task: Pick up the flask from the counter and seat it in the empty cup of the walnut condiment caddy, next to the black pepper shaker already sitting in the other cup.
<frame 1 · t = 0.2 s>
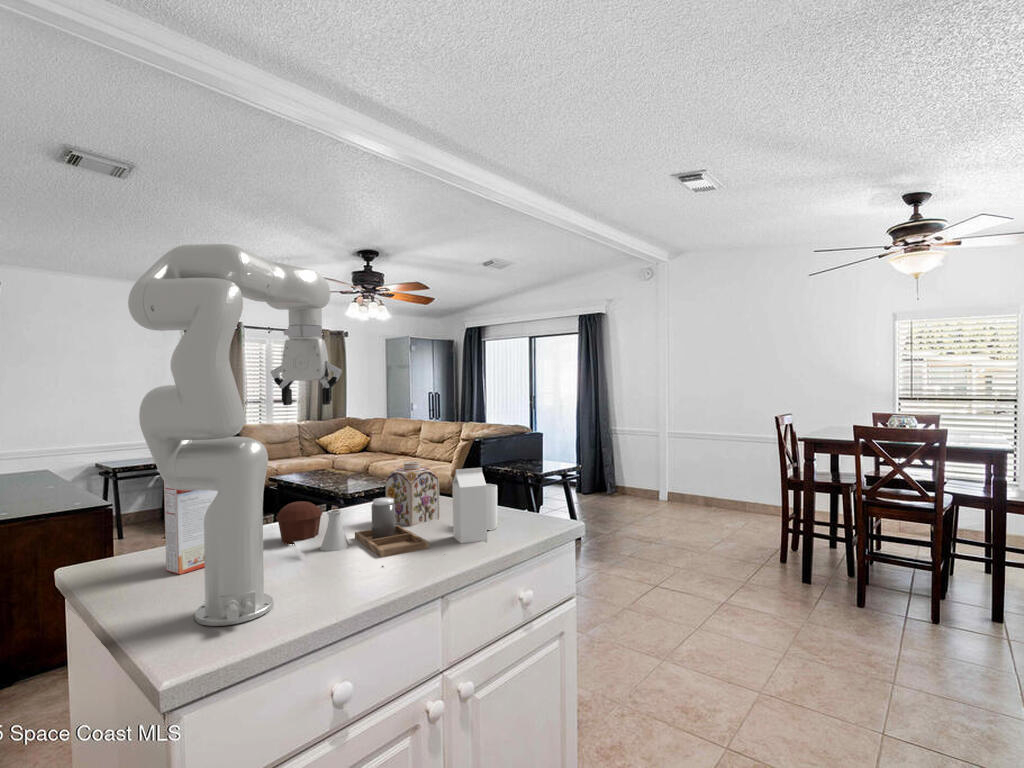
hand: (307, 404, 131), 36 cm above the counter, tool pointing down, fingers open, 9 cm apart
mug: (482, 527, 155), on the counter
flask: (334, 552, 134), on the counter
decorative jar: (413, 523, 162), on the counter
milk carton: (470, 542, 140), on the counter
caddy: (390, 547, 137), on the counter
pepper shaker: (383, 538, 141), point 1 cm above the counter, touching caddy
muffin: (299, 540, 145), on the counter
cracker box: (202, 565, 126), on the counter
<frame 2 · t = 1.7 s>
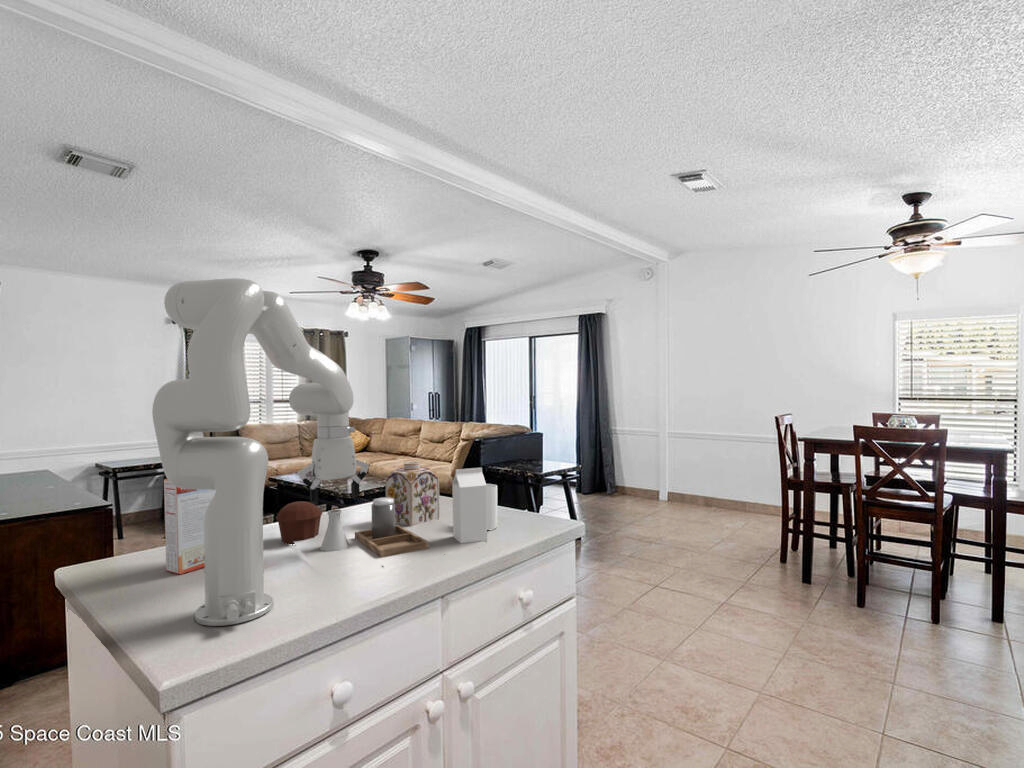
hand: (335, 501, 135), 12 cm above the counter, tool pointing down, fingers open, 9 cm apart
nothing on the counter moved.
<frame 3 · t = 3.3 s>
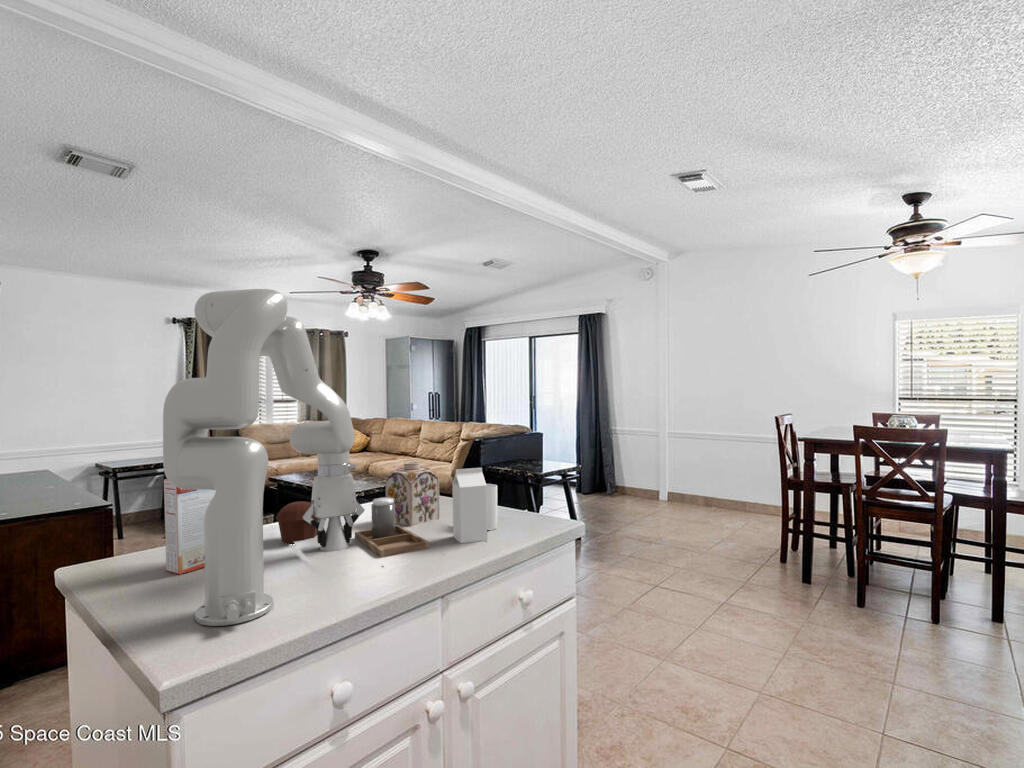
hand: (334, 543, 134), 2 cm above the counter, tool pointing down, fingers closed on flask, 5 cm apart
flask: (335, 551, 134), on the counter, touching gripper
everything else where it was.
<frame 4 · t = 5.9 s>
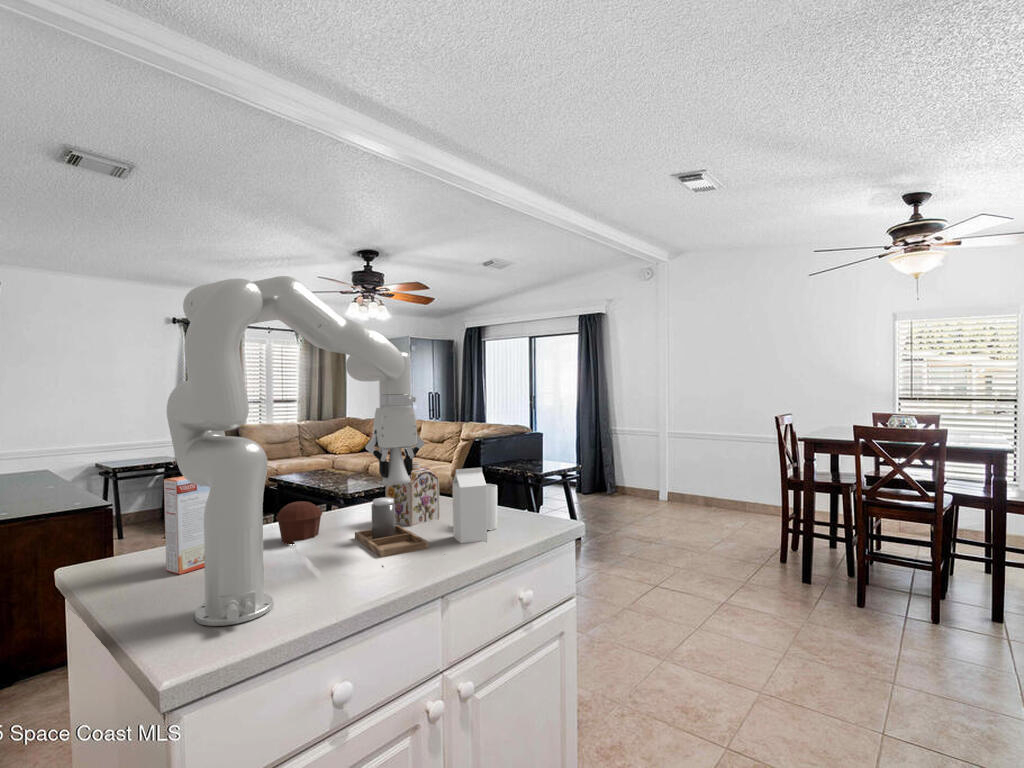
hand: (396, 475, 133), 19 cm above the counter, tool pointing down, fingers closed on flask, 5 cm apart
flask: (396, 484, 133), point 17 cm above the counter, touching gripper
everything else where it was.
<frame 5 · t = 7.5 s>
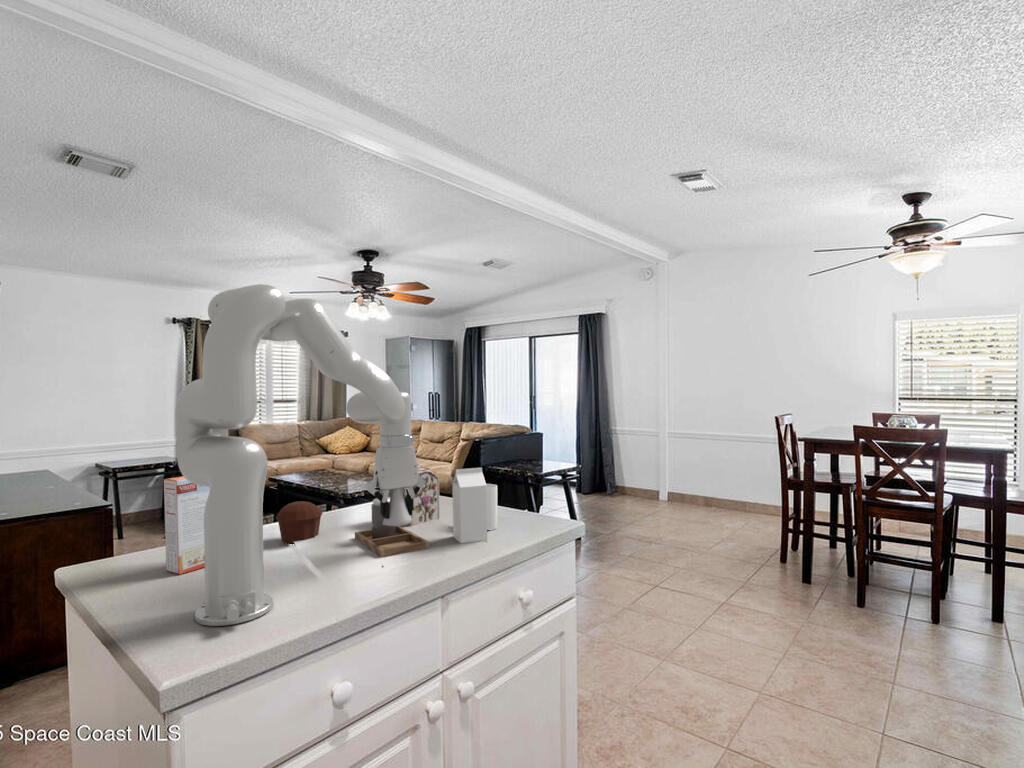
hand: (397, 515, 133), 9 cm above the counter, tool pointing down, fingers closed on flask, 5 cm apart
flask: (397, 524, 133), point 7 cm above the counter, touching gripper
everything else where it was.
when the fingers open (4 cm above the counter, at t = 8.9 s): flask stays where it is, resting on caddy.
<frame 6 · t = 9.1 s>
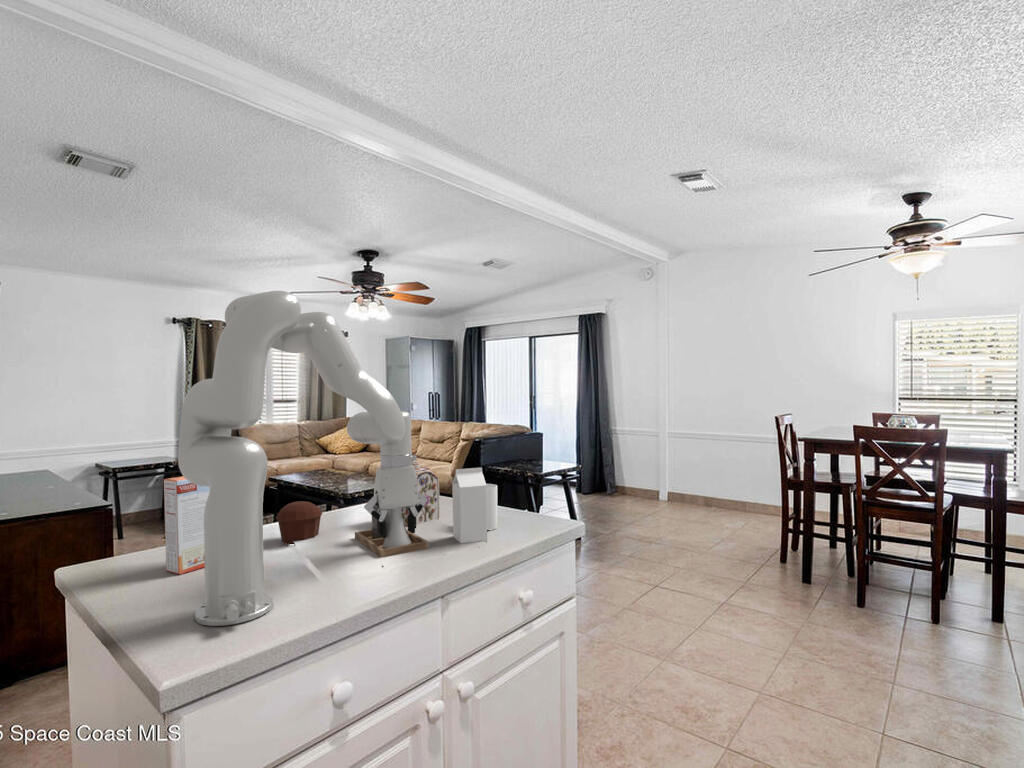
hand: (397, 533, 133), 4 cm above the counter, tool pointing down, fingers open, 6 cm apart
flask: (396, 548, 133), point 1 cm above the counter, touching caddy
everything else where it was.
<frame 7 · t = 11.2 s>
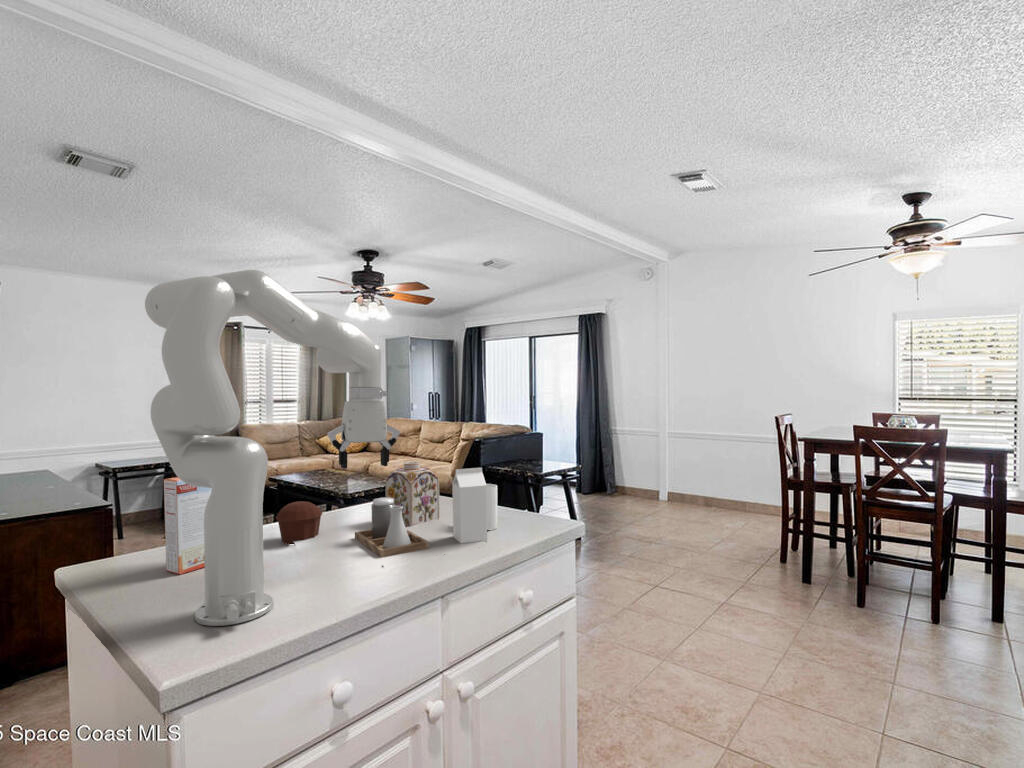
hand: (364, 466, 130), 21 cm above the counter, tool pointing down, fingers open, 9 cm apart
nothing on the counter moved.
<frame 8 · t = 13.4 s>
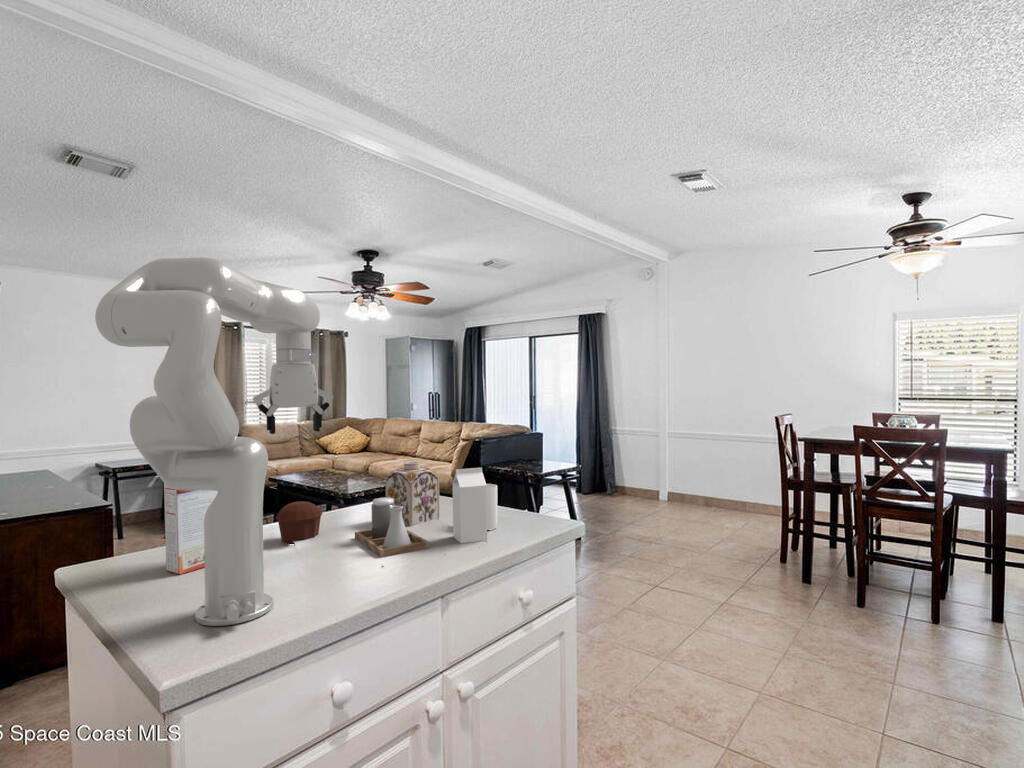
hand: (294, 432, 125), 30 cm above the counter, tool pointing down, fingers open, 9 cm apart
nothing on the counter moved.
at the end: flask inside the target area on the caddy (0.2 cm from its centre), point 0.8 cm above the caddy's base; flask tilted 0°; the gripper is holding nothing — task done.
